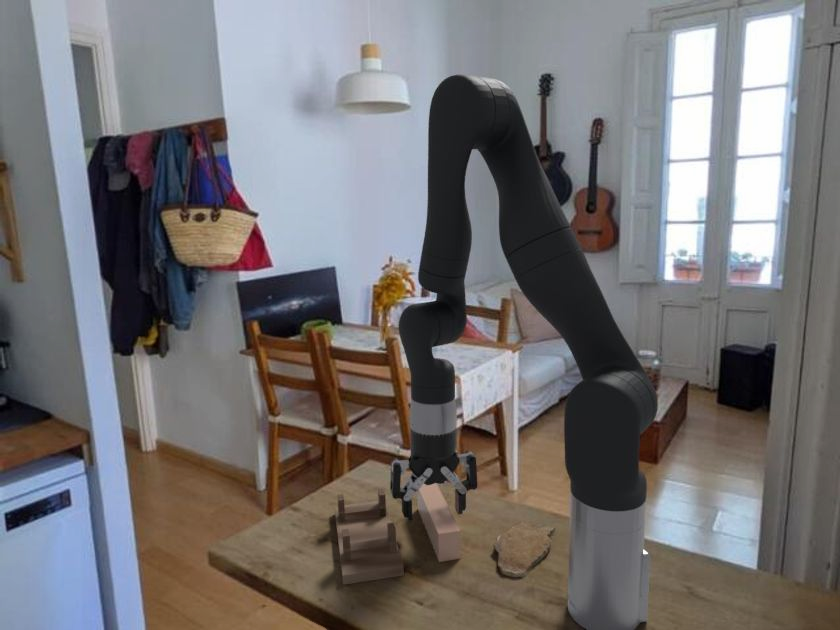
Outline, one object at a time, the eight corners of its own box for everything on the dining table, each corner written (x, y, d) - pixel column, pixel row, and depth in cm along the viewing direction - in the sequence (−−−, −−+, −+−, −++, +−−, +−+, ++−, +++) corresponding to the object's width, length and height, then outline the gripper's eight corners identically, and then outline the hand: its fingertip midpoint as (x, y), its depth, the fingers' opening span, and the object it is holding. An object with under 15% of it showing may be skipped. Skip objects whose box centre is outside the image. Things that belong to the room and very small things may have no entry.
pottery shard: (540, 593, 84) (557, 530, 98) (540, 578, 84) (557, 517, 97) (484, 581, 87) (508, 521, 101) (484, 566, 87) (507, 508, 100)
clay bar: (436, 507, 106) (436, 482, 105) (461, 559, 90) (460, 530, 89) (417, 510, 105) (417, 484, 104) (439, 563, 90) (438, 533, 89)
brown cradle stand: (334, 514, 104) (333, 485, 103) (384, 507, 106) (383, 479, 105) (343, 584, 85) (341, 550, 84) (404, 575, 86) (402, 541, 85)
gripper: (393, 437, 89) (395, 533, 92) (482, 428, 92) (482, 521, 95) (386, 419, 96) (388, 508, 99) (469, 411, 99) (468, 498, 102)
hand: (434, 515), depth 97 cm, fingers open, 8 cm apart
